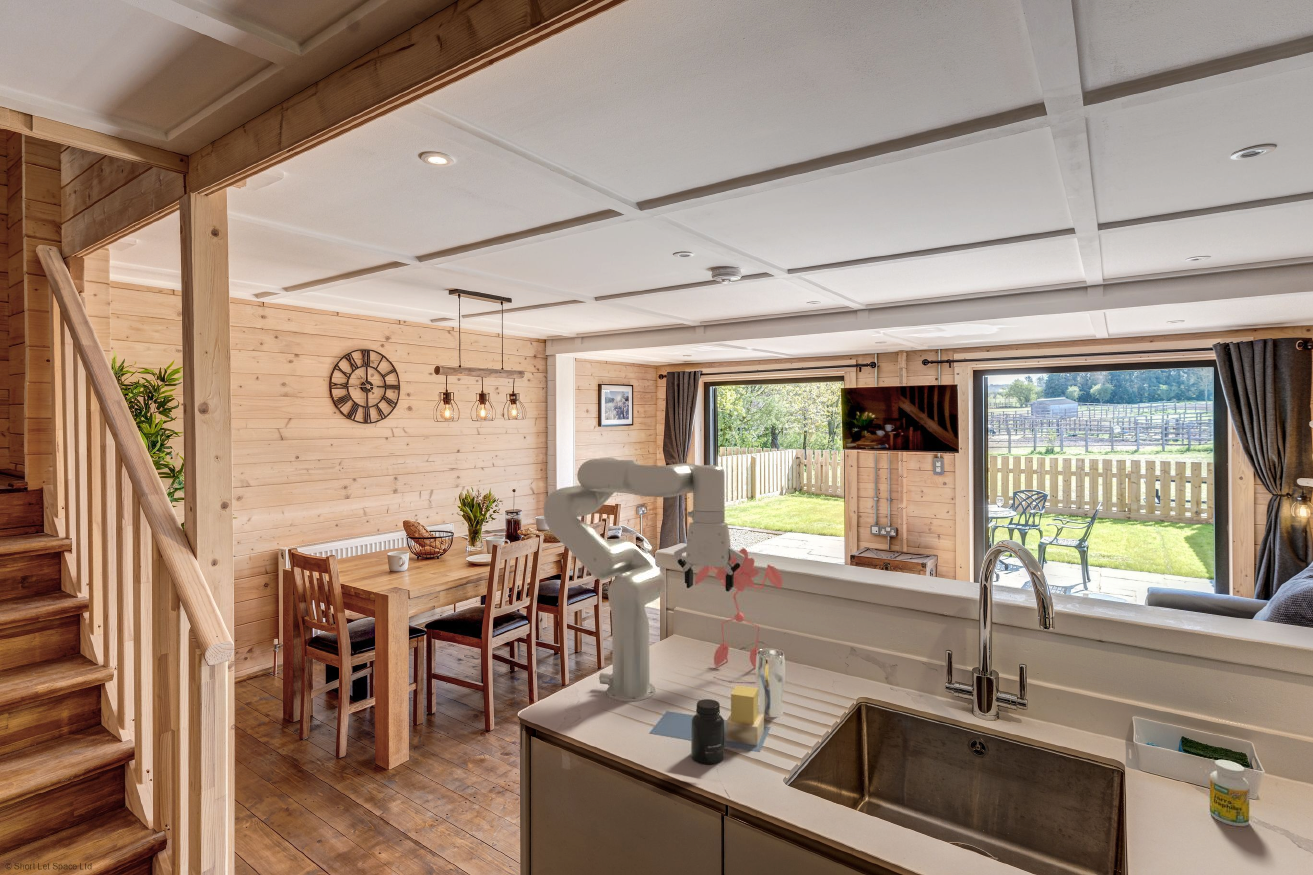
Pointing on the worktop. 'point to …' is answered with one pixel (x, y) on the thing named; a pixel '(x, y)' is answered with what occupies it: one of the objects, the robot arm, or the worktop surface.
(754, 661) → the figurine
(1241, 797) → the supplement bottle
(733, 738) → the beech base block
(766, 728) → the board
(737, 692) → the mustard block
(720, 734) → the supplement bottle
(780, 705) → the beer glass
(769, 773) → the worktop surface
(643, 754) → the worktop surface
